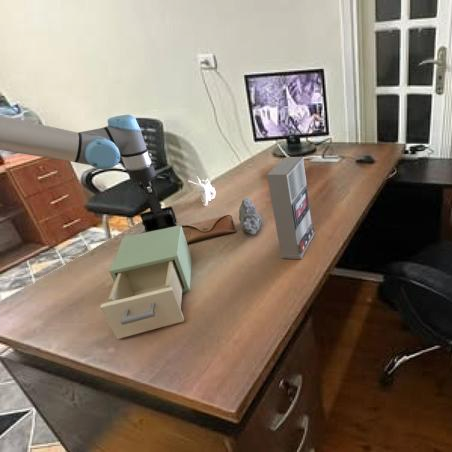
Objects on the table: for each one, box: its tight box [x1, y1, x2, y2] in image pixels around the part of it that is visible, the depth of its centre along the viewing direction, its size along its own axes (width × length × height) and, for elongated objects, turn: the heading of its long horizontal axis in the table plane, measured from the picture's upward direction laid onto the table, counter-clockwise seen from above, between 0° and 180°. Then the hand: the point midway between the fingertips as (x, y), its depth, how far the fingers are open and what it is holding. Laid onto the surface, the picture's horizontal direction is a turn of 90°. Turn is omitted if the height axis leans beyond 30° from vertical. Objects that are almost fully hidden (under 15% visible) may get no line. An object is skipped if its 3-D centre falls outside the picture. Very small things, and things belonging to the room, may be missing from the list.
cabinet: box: [108, 224, 193, 294], centre depth 91 cm, size 17×15×11 cm
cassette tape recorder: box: [266, 156, 316, 260], centre depth 97 cm, size 14×6×25 cm, turn 167°
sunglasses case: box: [181, 214, 237, 245], centre depth 114 cm, size 18×7×7 cm, turn 114°
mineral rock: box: [238, 197, 262, 236], centre depth 113 cm, size 13×11×10 cm
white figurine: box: [187, 175, 217, 207], centre depth 137 cm, size 12×8×10 cm, turn 169°
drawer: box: [99, 260, 185, 340], centre depth 79 cm, size 20×14×9 cm
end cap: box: [139, 206, 178, 233], centre depth 119 cm, size 10×7×7 cm
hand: (161, 225), depth 120 cm, fingers open, 13 cm apart
